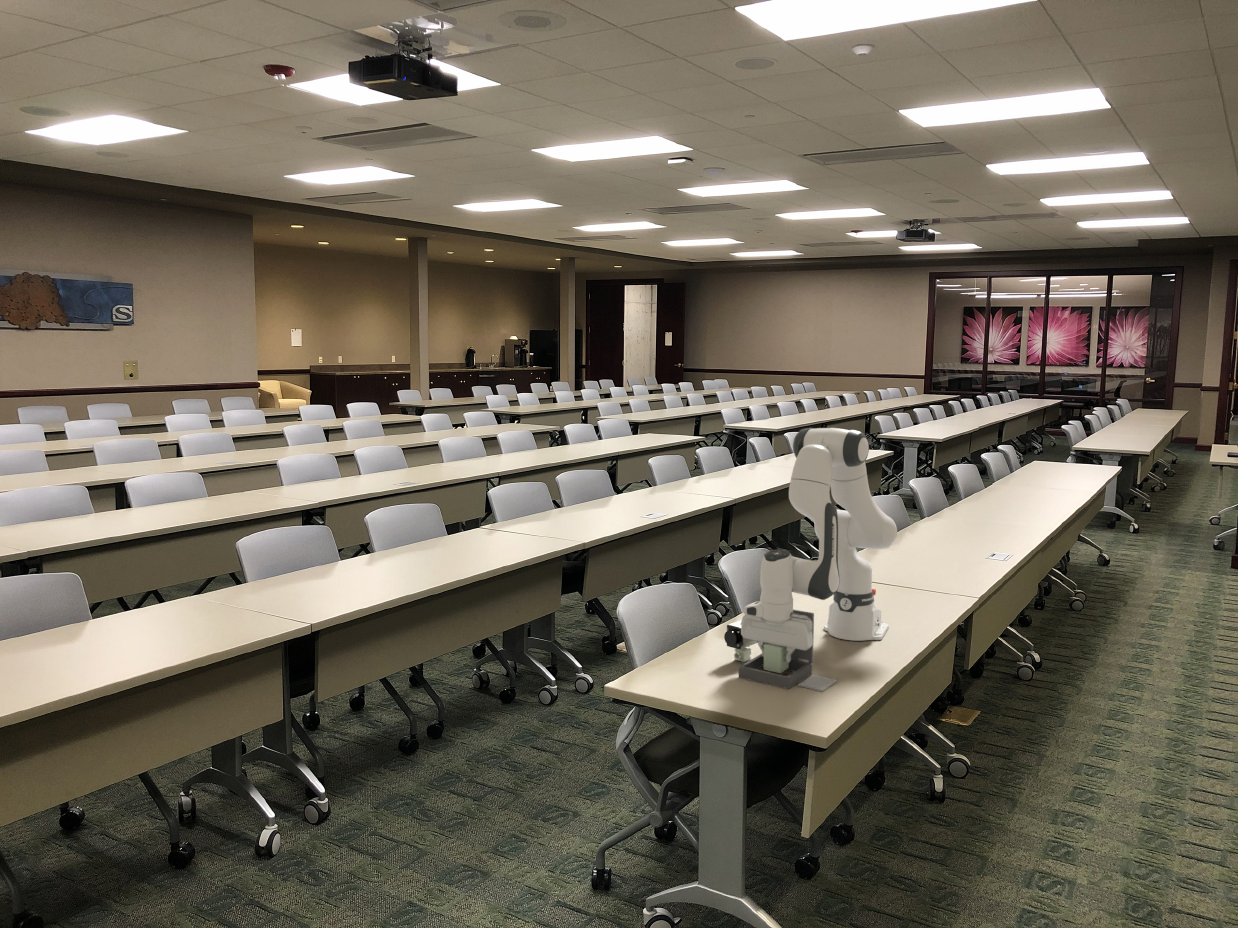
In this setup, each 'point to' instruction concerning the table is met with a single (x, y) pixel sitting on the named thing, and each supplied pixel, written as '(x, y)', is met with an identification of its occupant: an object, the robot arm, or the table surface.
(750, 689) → the table surface
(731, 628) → the pneumatic valve
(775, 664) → the block
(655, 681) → the table surface
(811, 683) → the pad
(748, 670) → the case
